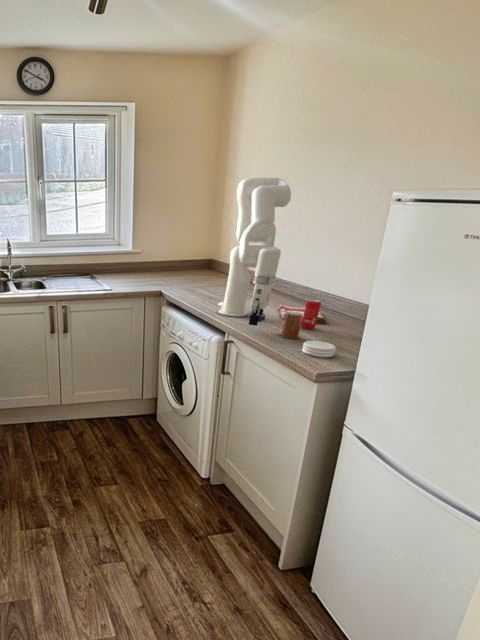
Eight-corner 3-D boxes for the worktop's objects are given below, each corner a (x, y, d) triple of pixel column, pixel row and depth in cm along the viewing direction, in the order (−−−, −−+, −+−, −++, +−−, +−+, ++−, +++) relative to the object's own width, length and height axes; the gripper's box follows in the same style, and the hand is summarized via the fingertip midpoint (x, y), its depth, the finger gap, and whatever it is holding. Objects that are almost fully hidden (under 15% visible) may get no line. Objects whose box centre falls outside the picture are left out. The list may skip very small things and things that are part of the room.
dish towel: (283, 320, 208) (284, 314, 207) (278, 308, 228) (279, 303, 227) (325, 323, 202) (327, 318, 201) (316, 312, 222) (318, 306, 221)
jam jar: (277, 335, 186) (283, 312, 183) (288, 333, 188) (293, 311, 185) (290, 339, 181) (296, 316, 178) (301, 337, 183) (307, 314, 180)
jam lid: (268, 320, 186) (269, 315, 186) (256, 321, 184) (257, 317, 183) (255, 315, 192) (256, 311, 191) (243, 317, 190) (244, 312, 189)
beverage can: (297, 327, 197) (304, 300, 192) (305, 325, 199) (312, 298, 194) (309, 330, 193) (316, 302, 188) (317, 328, 195) (324, 301, 190)
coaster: (296, 352, 166) (299, 343, 165) (308, 347, 172) (310, 338, 171) (326, 360, 159) (329, 350, 158) (338, 354, 165) (340, 345, 163)
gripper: (269, 284, 173) (259, 329, 180) (278, 278, 186) (269, 320, 193) (248, 281, 178) (239, 326, 185) (259, 276, 190) (250, 317, 197)
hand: (255, 322), depth 189 cm, fingers closed on jam lid, 6 cm apart
